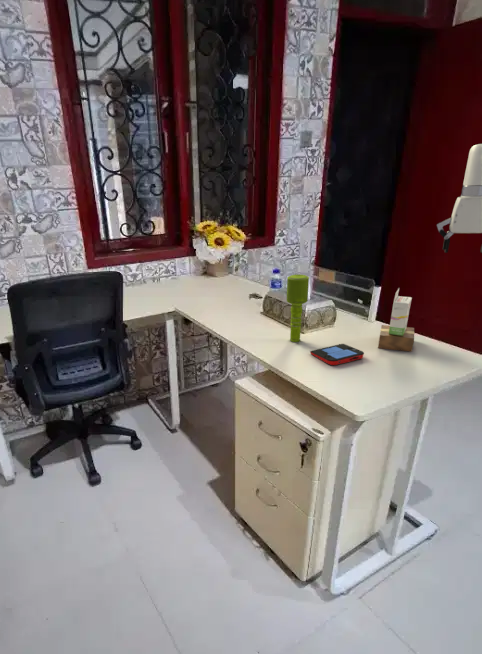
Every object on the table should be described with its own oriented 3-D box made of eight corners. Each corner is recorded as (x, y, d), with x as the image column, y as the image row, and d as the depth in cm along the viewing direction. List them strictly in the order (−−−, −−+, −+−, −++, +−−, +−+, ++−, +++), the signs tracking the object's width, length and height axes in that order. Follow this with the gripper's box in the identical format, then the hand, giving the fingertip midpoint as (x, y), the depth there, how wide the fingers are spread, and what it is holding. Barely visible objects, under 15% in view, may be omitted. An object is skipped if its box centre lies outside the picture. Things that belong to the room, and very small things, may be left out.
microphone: (282, 337, 163) (284, 274, 152) (301, 335, 163) (304, 272, 152) (288, 345, 155) (291, 279, 144) (308, 343, 156) (312, 277, 145)
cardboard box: (412, 340, 153) (414, 327, 151) (411, 351, 145) (414, 338, 142) (379, 337, 158) (381, 324, 156) (377, 348, 149) (379, 334, 147)
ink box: (403, 336, 144) (410, 295, 138) (388, 334, 147) (394, 293, 140) (406, 328, 151) (414, 288, 144) (392, 326, 153) (398, 287, 147)
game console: (342, 346, 152) (343, 340, 151) (366, 359, 141) (367, 353, 140) (308, 353, 148) (309, 347, 147) (331, 367, 137) (331, 361, 136)
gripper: (510, 189, 119) (495, 250, 127) (441, 192, 126) (431, 249, 134) (515, 191, 113) (499, 255, 121) (443, 194, 120) (432, 254, 128)
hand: (463, 252), depth 127 cm, fingers open, 9 cm apart
